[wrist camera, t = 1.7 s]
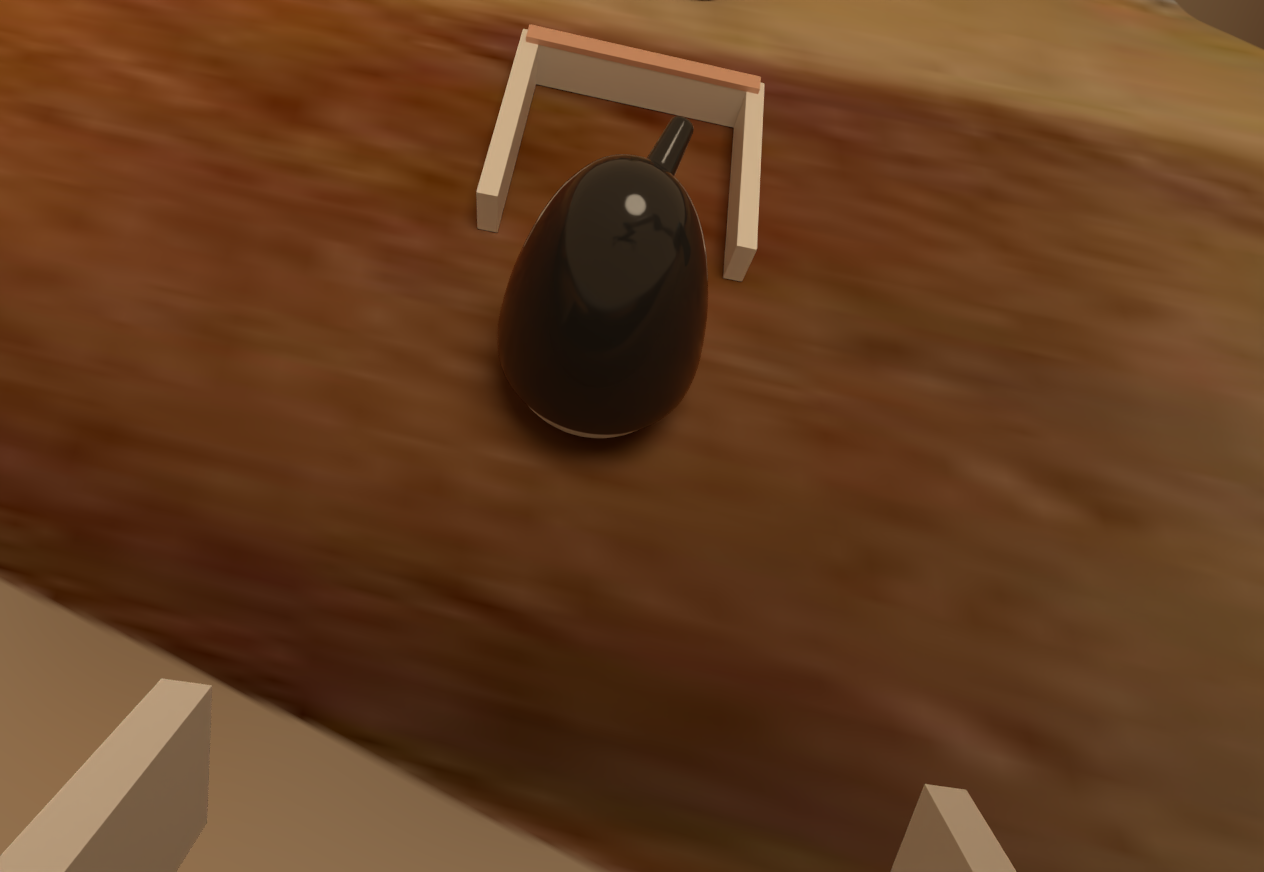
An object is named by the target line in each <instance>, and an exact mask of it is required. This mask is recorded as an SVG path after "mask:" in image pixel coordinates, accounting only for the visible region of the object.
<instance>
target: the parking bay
mask: <svg viewBox="0 0 1264 872" xmlns="http://www.w3.org/2000/svg"><path fill="white" fill-rule="evenodd" d="M760 79H761V77H759V76H755V75H750V74H746V73H742V72H737V71H733V70H728V69H724V68H720V67H715V66H711V65H706V64H702V63H698V62H693V61H689V60H684V59H680V58H676V57H671V56H667V55H663V54H658V53H654V52H649V51H645V50H641V49H636V48H632V47H627V46H623V45H619V44H614V43H610V42H605V41H601V40H597V39H592V38H588V37H583V36H579V35H575V34H570V33H566V32H561V31H557V30H553V29H548V28H544V27H540V26H535V25H531V24H530V25H529V28H528V30H527V29H523V31H522V35H521V38H520V42H519V45H518V49H517V52H516V56H515V59H514V63H513V66H512V70H511V73H510V77H509V80H508V84H507V87H506V91H505V94H504V98H503V101H502V105H501V108H500V112H499V115H498V118H497V122H496V125H495V129H494V132H493V136H492V139H491V143H490V146H489V150H488V153H487V157H486V160H485V164H484V167H483V171H482V174H481V178H480V181H479V185H478V188H477V192H476V196H477V229H481V230H486V231H491V232H496V233H497V232H498V228H499V224H500V221H501V217H502V213H503V209H504V205H505V201H506V198H507V194H508V190H509V186H510V182H511V178H512V174H513V171H514V167H515V163H516V159H517V155H518V151H519V147H520V144H521V140H522V136H523V132H524V128H525V124H526V121H527V117H528V113H529V109H530V105H531V101H532V97H533V94H534V90H535V86H536V84H538V85H542V86H547V87H551V88H556V89H560V90H565V91H569V92H574V93H579V94H583V95H588V96H592V97H597V98H601V99H606V100H610V101H615V102H619V103H624V104H628V105H633V106H638V107H642V108H647V109H651V110H656V111H660V112H665V113H669V114H674V115H678V116H683V117H687V118H692V119H697V120H701V121H706V122H710V123H715V124H719V125H724V126H728V127H733V128H734V132H733V146H732V160H731V174H730V188H729V202H728V216H727V230H726V244H725V258H724V272H723V278H726V279H731V280H736V281H741V282H742V280H743V278H744V276H745V274H746V272H747V270H748V267H749V265H750V263H751V261H752V259H753V257H754V255H755V252H756V250H757V235H758V213H759V191H760V170H761V148H762V126H763V104H764V83H760Z"/></svg>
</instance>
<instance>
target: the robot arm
mask: <svg viewBox="0 0 1264 872" xmlns="http://www.w3.org/2000/svg"><path fill="white" fill-rule="evenodd" d="M211 700H212V685H204V684H198V683H191V682H183V681H176V680H169V679H161V680H160V681H159V682H158V683H157V684H156V685H155V686H154V687H153V688H152V690H151V691H150V692H149V693H148V694H147V695H146V696H145V697H144V698H143V699H142V700H141V702H140V703H139V704H138V705H137V706H136V707H135V708H134V709H133V710H132V711H131V713H130V714H129V715H128V716H127V717H126V718H125V719H124V720H123V721H122V722H121V724H120V725H119V726H118V727H117V728H116V729H115V730H114V731H113V732H112V734H111V735H110V736H109V737H108V738H107V739H106V740H105V741H104V742H103V743H102V745H101V746H100V747H99V748H98V749H97V750H96V751H95V752H94V753H93V754H92V755H91V757H90V758H89V759H88V760H87V761H86V762H85V763H84V764H83V765H82V766H81V768H80V769H79V770H78V771H77V772H76V773H75V774H74V775H73V776H72V778H71V779H70V780H69V781H68V782H67V783H66V784H65V785H64V786H63V787H62V788H61V790H60V791H59V792H58V793H57V794H56V795H55V796H54V797H53V799H51V801H50V802H49V803H48V804H47V805H46V806H45V807H44V808H43V810H42V811H41V812H40V813H39V814H38V815H37V816H36V817H35V818H34V819H33V820H32V821H31V823H30V824H29V825H28V826H27V827H26V828H25V829H24V830H23V831H22V833H21V834H20V835H19V836H18V837H17V838H16V839H15V840H14V841H13V843H11V845H10V846H9V847H8V848H7V849H6V850H5V851H4V852H3V853H2V855H1V856H0V872H176V871H177V870H178V868H179V866H180V865H181V863H182V862H183V860H184V859H185V857H186V855H187V854H188V852H189V850H190V849H191V847H192V845H193V844H194V843H195V841H196V839H197V838H198V836H199V835H200V833H201V831H202V830H203V828H204V827H205V825H206V823H207V807H208V780H209V753H210V728H211ZM891 872H1016V870H1015V868H1014V867H1013V865H1012V864H1011V862H1010V860H1009V859H1008V857H1007V855H1006V854H1005V852H1004V851H1003V849H1002V847H1001V846H1000V844H999V842H998V841H997V839H996V837H995V836H994V834H993V833H992V831H991V829H990V828H989V826H988V824H987V823H986V821H985V820H984V818H983V816H982V815H981V813H980V811H979V810H978V808H977V807H976V805H975V803H974V802H973V800H972V798H971V797H970V795H969V793H968V792H967V790H965V789H957V788H950V787H943V786H936V785H928V784H924V787H923V790H922V792H921V795H920V797H919V800H918V802H917V805H916V808H915V810H914V813H913V815H912V818H911V820H910V823H909V826H908V828H907V831H906V833H905V836H904V838H903V841H902V844H901V846H900V849H899V851H898V854H897V856H896V859H895V862H894V864H893V867H892V869H891Z"/></svg>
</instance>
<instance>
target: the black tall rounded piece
mask: <svg viewBox="0 0 1264 872" xmlns="http://www.w3.org/2000/svg"><path fill="white" fill-rule="evenodd" d="M692 134H693V125H692V123H691V122H690V121H689V120H688V119H686V118H685V117H682V116H676V117H673V118H672V119H671V121H670V122H669V124H668V125H667V127H666V129H665V130H664V132H663V133H662V135H661V136H660V138H659V140H658V141H657V143H656V144H655V146H654V148H653V149H652V151H651V152H650V154H649V155H648V157H647V158H644V157H640V156H635V155H626V154H619V155H611V156H607V157H603V158H601V159H598V160H596V161H594V162H592V163H590V164H588V165H587V166H585V167H584V168H582V169H581V170H579V171H578V172H577V173H576V174H574V175H573V176H572V177H571V178H570V179H568V180H567V181H566V182H565V183H564V184H563V185H562V186H561V187H560V188H559V190H558V191H557V192H556V193H555V194H554V196H553V197H552V198H551V199H550V201H549V202H548V203H547V205H546V206H545V208H544V209H543V211H542V212H541V214H540V215H539V217H538V219H537V220H536V222H535V224H534V226H533V228H532V230H531V231H530V233H529V235H528V237H527V239H526V241H525V243H524V245H523V247H522V249H521V252H520V254H519V256H518V258H517V260H516V263H515V265H514V268H513V270H512V273H511V276H510V279H509V282H508V285H507V288H506V292H505V295H504V299H503V303H502V307H501V311H500V316H499V322H498V335H497V343H498V354H499V359H500V363H501V366H502V369H503V372H504V374H505V376H506V378H507V380H508V382H509V384H510V385H511V387H512V388H513V390H514V391H515V392H516V394H517V395H518V396H519V397H520V398H521V399H522V400H523V401H524V402H525V403H526V404H527V405H528V407H529V408H530V409H531V410H532V411H533V412H534V413H535V414H537V415H538V416H539V417H540V418H541V419H543V420H544V421H546V422H547V423H549V424H550V425H552V426H554V427H556V428H558V429H560V430H562V431H564V432H567V433H570V434H573V435H577V436H582V437H588V438H611V437H617V436H622V435H626V434H629V433H632V432H634V431H637V430H639V429H642V428H645V427H647V426H650V425H652V424H654V423H656V422H657V421H659V420H661V419H662V418H664V417H665V416H666V415H668V414H669V413H670V412H671V411H672V410H673V409H674V408H675V407H676V406H677V405H678V404H679V403H680V402H681V400H682V399H683V398H684V396H685V395H686V393H687V391H688V390H689V388H690V386H691V383H692V381H693V379H694V376H695V374H696V371H697V368H698V365H699V361H700V357H701V352H702V347H703V341H704V335H705V329H706V321H707V309H708V271H707V257H706V249H705V242H704V237H703V232H702V228H701V224H700V221H699V218H698V215H697V212H696V209H695V207H694V205H693V203H692V201H691V199H690V197H689V195H688V193H687V192H686V190H685V189H684V187H683V186H682V184H681V183H680V182H679V181H678V180H677V179H676V177H675V173H676V171H677V169H678V166H679V164H680V162H681V159H682V157H683V155H684V152H685V150H686V148H687V146H688V143H689V141H690V139H691V136H692Z"/></svg>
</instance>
